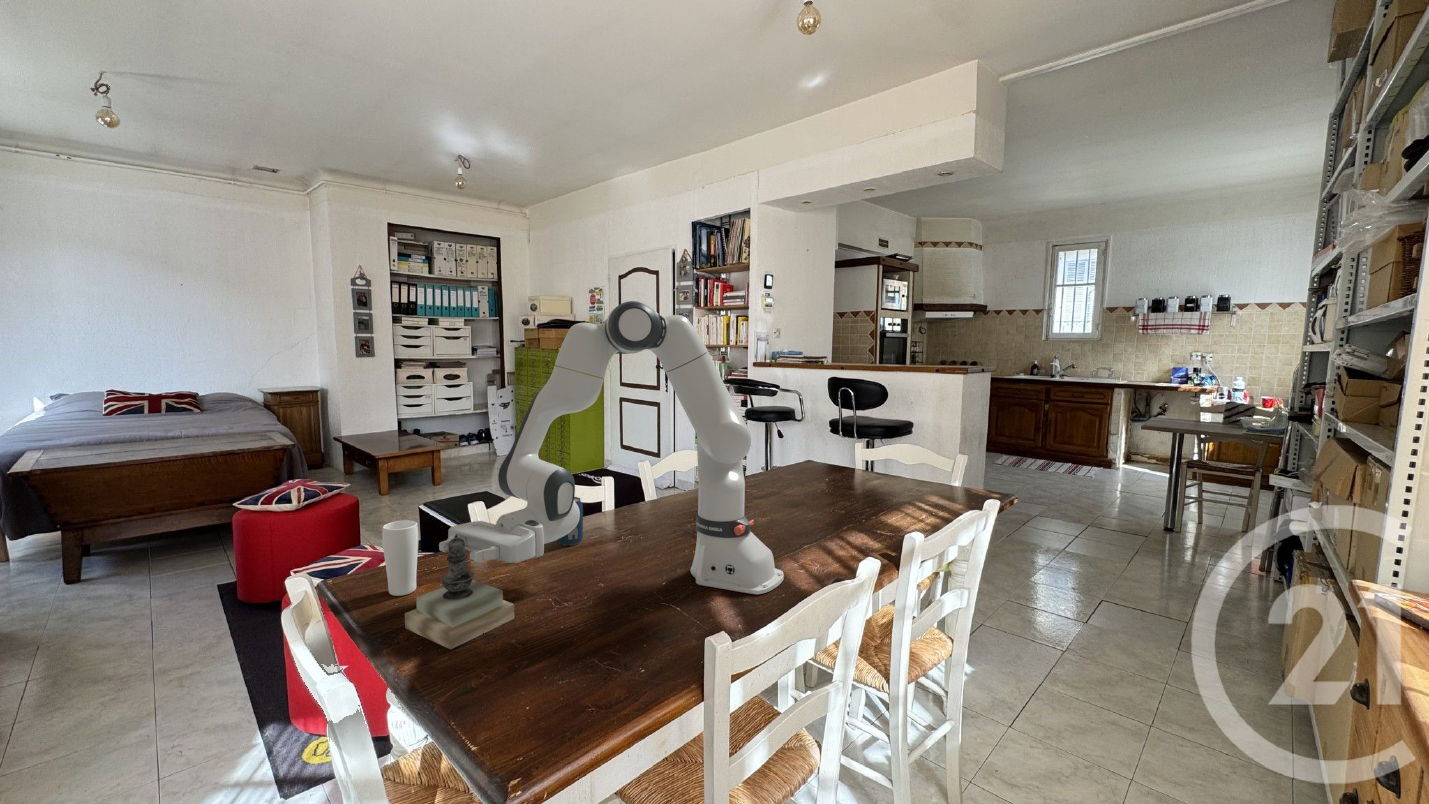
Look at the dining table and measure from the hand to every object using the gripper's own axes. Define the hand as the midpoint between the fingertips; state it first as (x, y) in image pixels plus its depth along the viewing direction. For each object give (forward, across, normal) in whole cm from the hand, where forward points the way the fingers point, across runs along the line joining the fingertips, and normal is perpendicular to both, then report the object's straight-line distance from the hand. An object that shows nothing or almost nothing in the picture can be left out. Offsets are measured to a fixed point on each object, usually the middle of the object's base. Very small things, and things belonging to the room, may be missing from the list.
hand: (456, 552), depth 111 cm
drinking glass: (-3, -23, +15) cm, 27 cm away
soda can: (-46, -16, +15) cm, 51 cm away
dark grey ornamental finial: (0, 0, +9) cm, 9 cm away
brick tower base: (-1, 0, +14) cm, 14 cm away
